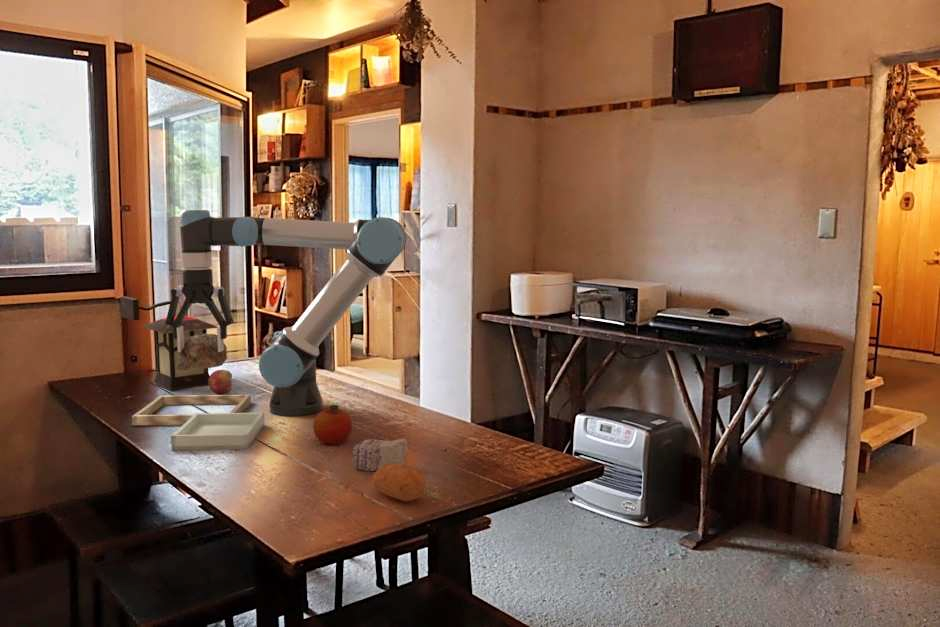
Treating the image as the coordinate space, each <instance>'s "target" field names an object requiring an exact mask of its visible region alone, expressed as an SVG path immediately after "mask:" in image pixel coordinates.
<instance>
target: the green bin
mask: <svg viewBox="0 0 940 627" xmlns="http://www.w3.org/2000/svg"><path fill="white" fill-rule="evenodd" d="M193 414H194V415H193V416H192V417H191V418H190V419H189V420H188V421H187V422H186V423H185V424H184V425H180V427H179V428H178V429H177V430H176V431H174V432H173V434H171V436H170V440H171V441H170V443H171V444H170V446H171V451H195V450H196V451H198V450H199V451H208V449H209V450H214V451H215V449H216V450H248V449H249V448H250V446H252V444H253V442H254V441H255V440H256V438H257V437H258V435H259V433H261V431H262V430H263V428H265V413H264V412H243V413H230V412H219V413H218V412H217V413H216V412H215V413H214V412H213V413H211V412H209V413H207V412H206V413H193Z"/></svg>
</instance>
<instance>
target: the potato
mask: <svg viewBox="0 0 940 627" xmlns="http://www.w3.org/2000/svg"><path fill="white" fill-rule="evenodd" d="M372 483H373V485H374V487H375V488H376V490H378V491H379V492H381V493H383V494H384V495H386V496H389V497H391V498H393V499H396V500H397V501H401V502H405V503H407V502H412V501H415V500H418V499H419V498H420V499H421V497H422V496H423V493H424V492H425V489H426V480H425V477H424V475H423V474H422V473H420V472H419V471H417V470H415V469H413V468H412V467H410V466H407V465H405V464H404V465H403V464H388V465H385V466H383V467H381V468H379V469H378V470H375V472H374V473H373V475H372Z"/></svg>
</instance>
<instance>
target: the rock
mask: <svg viewBox="0 0 940 627" xmlns="http://www.w3.org/2000/svg"><path fill="white" fill-rule="evenodd" d="M227 349H228V348H227V346H226V343H224V350H223V351H221V352H218V339H217V334H215V333H207V334H201V335H195V336H191V337H189V338H188V339H187V341H186V342H185V347H184V348H183V350H182V351H181V352H180V353H179V358H178V361H179V362H178V364H177V369H178V370H191V369H205V368H208V369H213V368H218V367H221V366H223V364H224V363H225V362H226V360H227V359H228V354H227Z"/></svg>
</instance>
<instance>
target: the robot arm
mask: <svg viewBox="0 0 940 627" xmlns="http://www.w3.org/2000/svg"><path fill="white" fill-rule="evenodd" d="M179 220H180V221H179V230H180V232H179V233H180V247H181V267H182V268H184V269H183V270H181V272H182V273H181V274H182V287H181V288H177V287H175V288H172V289H171V290H170V295H171V299H170V301H171V302H170V304H169V306H168V312H167V315H166V318H167V319H166V325H170V326H172V327H173V333H174V339H177V345H178V352H181V351H182V350H183V348H184V334H183V326H180V325H181V322H182V320H183V318H184V317H185V316H187V314H188V311H189V309H190V308H191V306H192V305H193V304H203V305H205V306H206V307H207V308H208V309H209V311H210V313H211V314H212V316H213V317H214V319H215V320H216V322H217V324H218V325H219V326H217V327H218V328H216V335H217V339H218V352H221V351H223V350H224V344H225V340H226V339H227V337H228V332H227V331H228V330H227V329H228V328H227V327H228V326H230V325H233V323H234V319H233V315H232V313H231V309H230V306H229V303H228V301H227V297H226V289H225V287H223V288H215V287H214V282H213V269H211V267H213V263H212V257H213V256H212V247H219V246H222V247H242V248H243V247H248V246H251V247H252V246H255V245H259V246H260V245H264V246H281V247H299V248H314V249H315V248H316V249H335V250H346V254H347V256H346V257H347V258H346V259H345V260H344V261H343V263H341V265H340V266H339V267H338V269H337V270H336V271H335V273H333V275H331V277H330V279H329V280H328V281H327V282H326V284H325V285H324V286H323V288H322V289H321V290H320V292H319V293H318V294H316V296H315V298H314V299H313V300H312V302H311V303H310V304H309V305H308V307H307V308H306V309H305V311H304V312H303V313H302V314H301V315H300V317H299V318H298V319H297V321H296V322H295V323H294V325H293V326H286V327H284V328H283V329H282V330H280V331H279V330H278V331H275V332H273V338H272V342H271V345H269V346H268V347H266V349H264V350H263V351H262V353H261V355H260V358H259V361H258V370H259V372H260V373H259V374H260V376H261V378H263V380H264V381H265V382H267V383H268V385H271V386H273V390H272V393H271V397H270V400H269V412H270V413H271V414H274V415H277V416H278V415H279V416H286V417H287V416H289V417H291V416H307V415H311V414H315V413H319V412H321V411H323V410H324V409H323V408H324V401H323V397H322V395H321V392H320V388H319V386H318V383H317V358H318V356H320V349H319V346H320V345H321V343H322V342H323V341H324V340H325V339H326V337H328V335H329V333H330V332H331V331H332V330H333V328H334V327H335V326H336V325H337V323H338V322H339V321H340V319H342V317H343V316H344V315H345V313H346V312H347V311H348V310H349V309H350V307H351V306H352V304H354V302H355V301H356V300H357V298H358V297H359V296H360V294H361V293H362V292H363V291H364V289H365V288H366V287H367V286H368V284H370V282H371V281H372V279H374V278H377V277H382V276H383V275H384V274H385V272H386V271H387V270H388V269H389V268H390V266H391V265H392V264H393V262H394V261H395V260H396V259H397V258H398V257H399V255H400V254H401V253H402V252H403V250H404V249H405V247H406V245H407V234H406V231H405V228H404V227H403V225H402V224H401V223H400V222H398V221H397V220H396V219H394V218H390V217H382V216H380V217H374V218H371V219H358V220H356V221H355V222H347V221H345V222H344V221H328V220H311V219H308V220H307V219H292V218H291V219H290V218H288V219H287V218H272V217H257V216H255V217H254V216H238V217H234V216H233V217H232V216H231V217H214V216H213V217H212V216H211V212H210V210H207V209H184V210H182V211H181V212H180V216H179ZM182 294H183V296H184V297H185V299H184V301H183V303H182V306H181V309H179V311H178V313H176V312H177V309H178V306H179V302H180V297H181V296H182ZM214 294H215V296H216V297H217V298H218V302H219V305H220V308H221V312H222V313H221V312H220V310H219V309H218V306H217V305H216V303H215V301H214V299H213V298H212V297H213V295H214ZM178 301H179V302H178ZM175 313H176V314H177V315H175ZM222 314H223V315H222ZM175 316H177V317H176V319H175V321H174V318H175Z"/></svg>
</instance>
